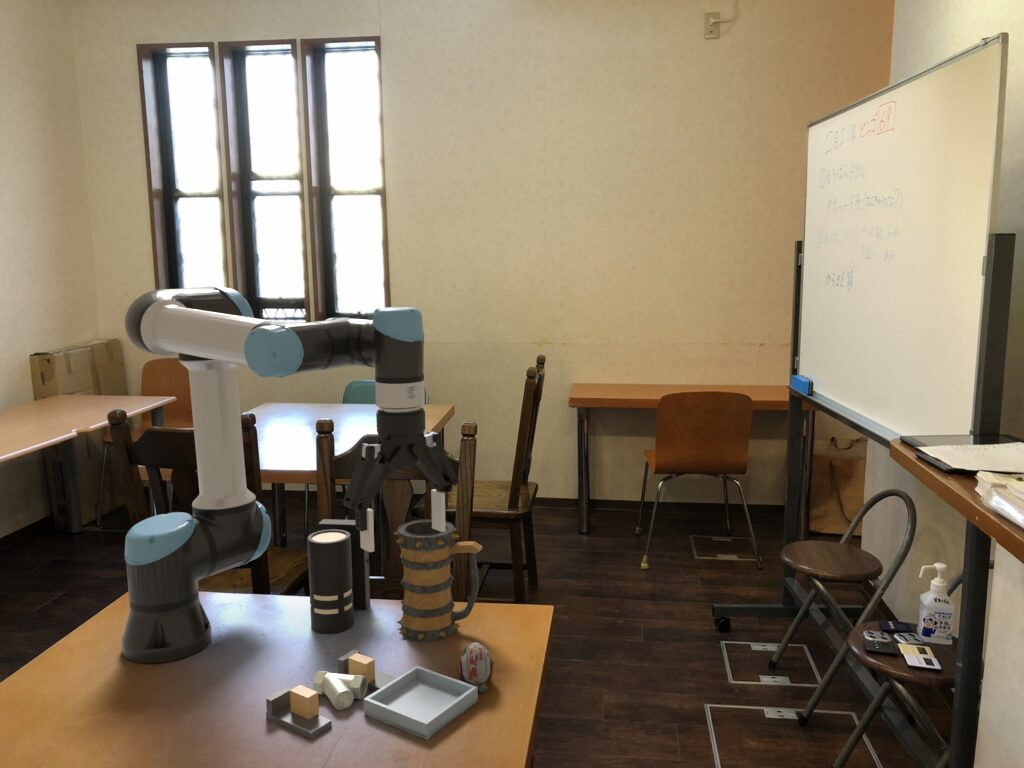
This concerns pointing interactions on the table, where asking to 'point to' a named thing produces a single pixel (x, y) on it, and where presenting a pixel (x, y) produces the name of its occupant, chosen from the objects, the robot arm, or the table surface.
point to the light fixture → (337, 575)
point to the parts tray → (421, 701)
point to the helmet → (476, 665)
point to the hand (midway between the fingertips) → (404, 539)
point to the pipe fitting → (340, 687)
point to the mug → (432, 580)
